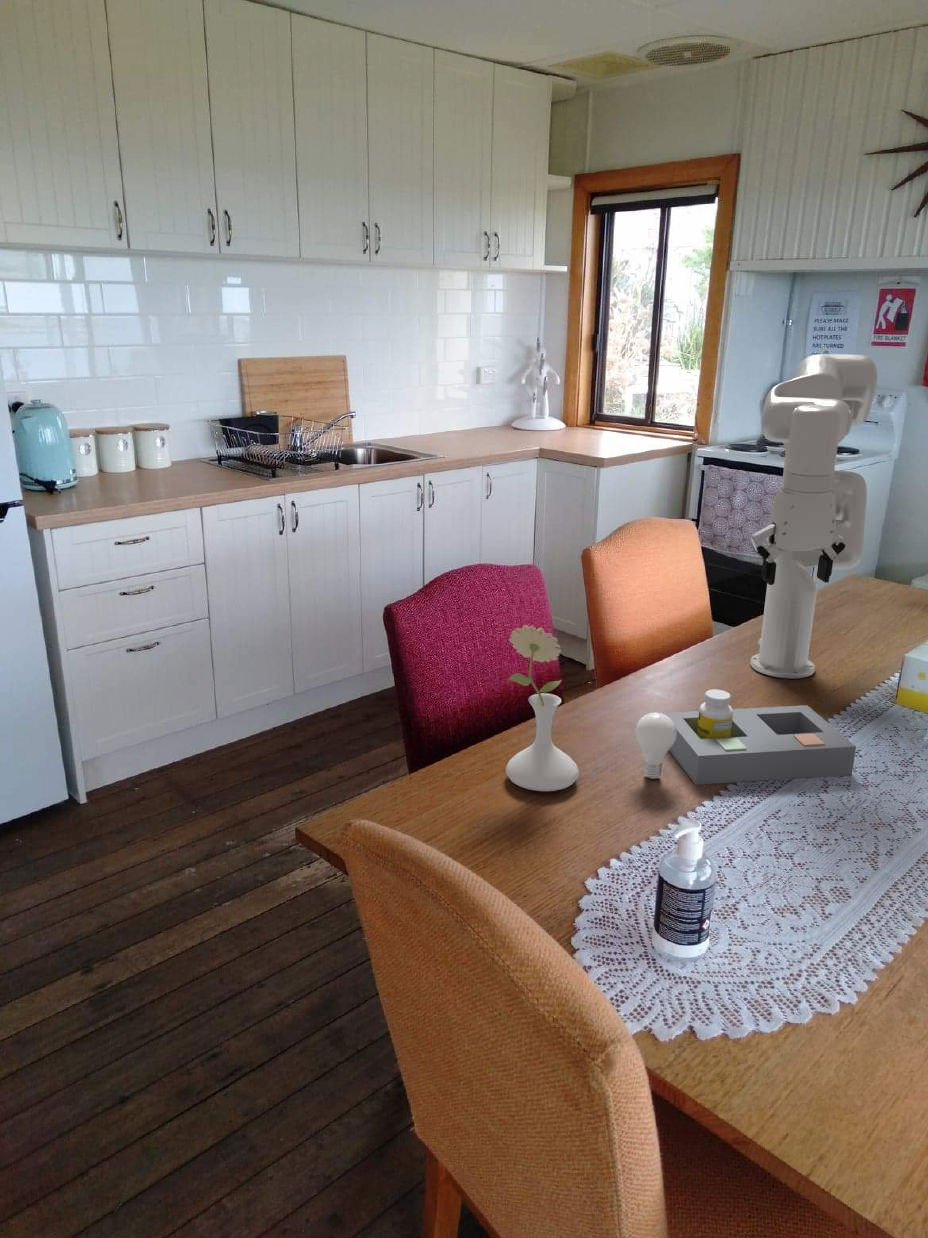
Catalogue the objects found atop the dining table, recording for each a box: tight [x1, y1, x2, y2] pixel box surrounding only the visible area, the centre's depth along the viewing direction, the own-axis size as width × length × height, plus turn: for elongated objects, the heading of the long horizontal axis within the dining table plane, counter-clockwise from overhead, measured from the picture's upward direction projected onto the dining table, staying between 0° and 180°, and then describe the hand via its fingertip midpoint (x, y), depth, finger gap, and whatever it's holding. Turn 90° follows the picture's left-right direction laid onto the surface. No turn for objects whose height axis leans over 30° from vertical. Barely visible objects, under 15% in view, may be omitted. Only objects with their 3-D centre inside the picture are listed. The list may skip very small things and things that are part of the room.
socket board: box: [662, 704, 857, 786], centre depth 153 cm, size 16×26×5 cm, turn 98°
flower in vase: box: [505, 624, 580, 792], centre depth 142 cm, size 13×11×25 cm
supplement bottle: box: [697, 688, 733, 739], centre depth 152 cm, size 5×5×10 cm
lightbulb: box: [634, 711, 677, 780], centre depth 145 cm, size 6×6×11 cm
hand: (795, 581), depth 158 cm, fingers open, 9 cm apart
